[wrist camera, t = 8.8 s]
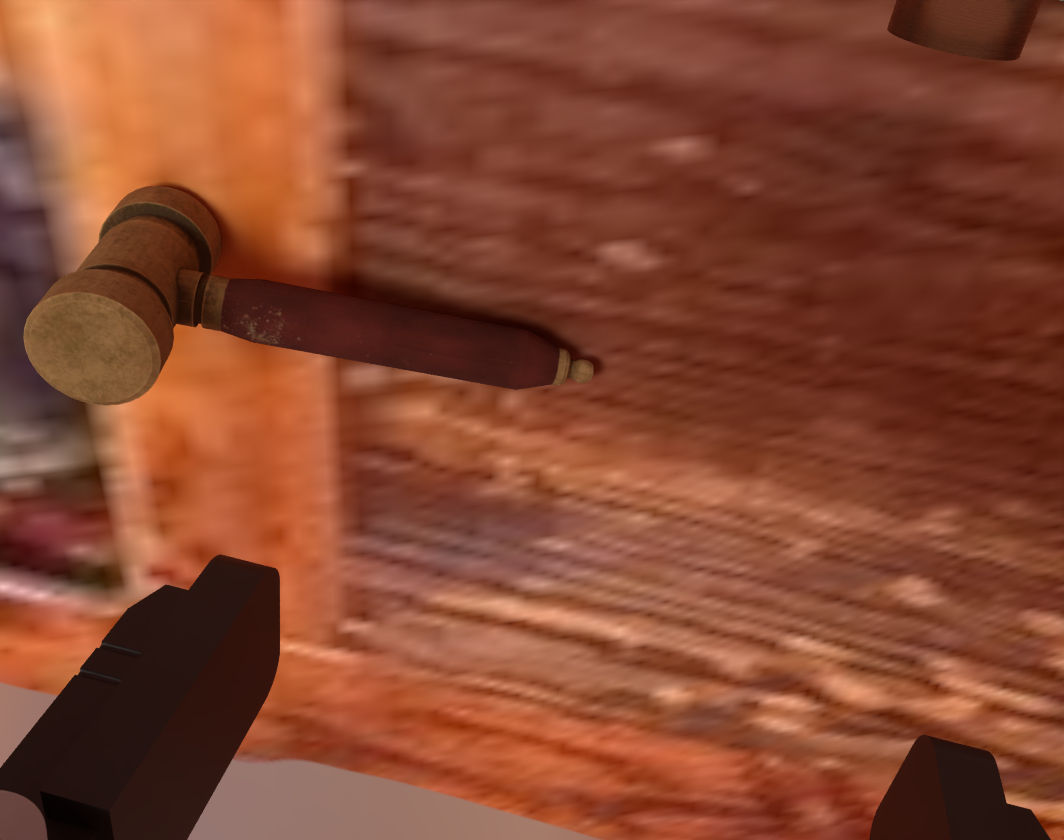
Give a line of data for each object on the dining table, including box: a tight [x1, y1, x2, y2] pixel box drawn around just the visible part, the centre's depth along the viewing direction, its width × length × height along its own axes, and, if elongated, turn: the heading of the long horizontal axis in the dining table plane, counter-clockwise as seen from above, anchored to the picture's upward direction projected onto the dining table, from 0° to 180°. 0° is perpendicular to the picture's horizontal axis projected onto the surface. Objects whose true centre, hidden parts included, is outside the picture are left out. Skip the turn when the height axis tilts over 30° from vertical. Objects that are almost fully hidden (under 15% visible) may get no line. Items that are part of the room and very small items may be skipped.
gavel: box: [24, 186, 594, 405], centre depth 39 cm, size 21×5×10 cm, turn 76°
